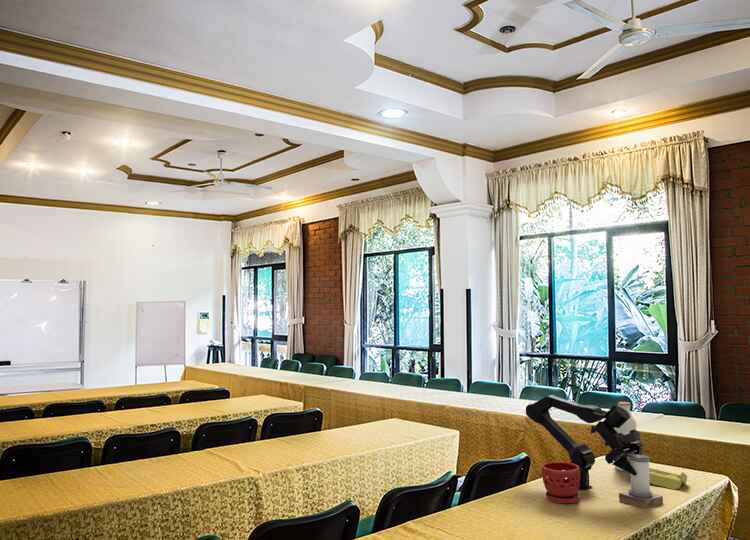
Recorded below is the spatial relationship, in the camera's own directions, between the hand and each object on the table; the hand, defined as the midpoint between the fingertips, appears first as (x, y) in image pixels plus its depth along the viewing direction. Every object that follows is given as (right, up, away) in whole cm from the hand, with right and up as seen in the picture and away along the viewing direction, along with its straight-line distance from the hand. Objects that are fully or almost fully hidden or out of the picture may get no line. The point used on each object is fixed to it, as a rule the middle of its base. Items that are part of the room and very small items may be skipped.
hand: (641, 472), depth 206 cm
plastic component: (+17, -12, +24) cm, 32 cm away
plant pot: (-27, -11, +2) cm, 29 cm away
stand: (0, -10, 0) cm, 10 cm away
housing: (0, -8, 0) cm, 8 cm away
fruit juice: (+13, -13, +42) cm, 46 cm away
